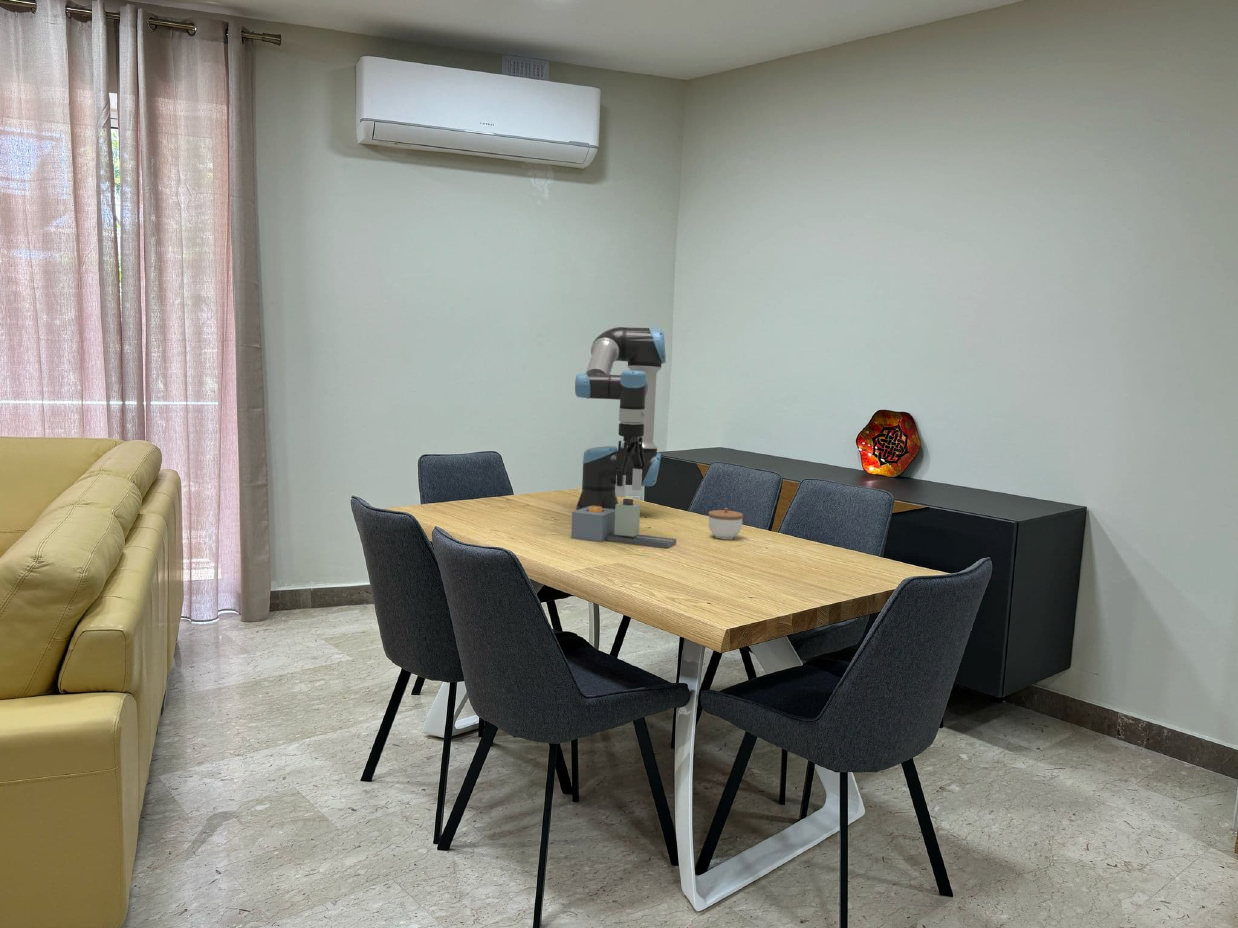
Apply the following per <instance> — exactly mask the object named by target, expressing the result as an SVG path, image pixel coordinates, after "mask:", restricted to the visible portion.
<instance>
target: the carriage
mask: <svg viewBox="0 0 1238 928" xmlns="http://www.w3.org/2000/svg"><path fill="white" fill-rule="evenodd" d="M640 513H641V504H639V503H638V504H637V503H634V499H631V498H623V501H622V502H618V504H616V507H615V530H614V534H616V535H624V536H632V537H633V536H635V535H637V534H640V517H641V514H640Z"/></svg>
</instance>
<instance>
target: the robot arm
mask: <svg viewBox="0 0 1238 928" xmlns="http://www.w3.org/2000/svg"><path fill="white" fill-rule="evenodd" d="M665 343H666V342H665V334H664V332H663V330H662V329H659V328H652V327H624V326H618V327H613V328H609V329H607V330H606V331H604V332H602V333H601V334H599V335H598V336H597V337H596V338H595V339H594V340H593V342H592V344H591V347H590V354H591V356H590V359H589V363H588V365H587V368H586V372H583V373H582V372H581V373H577V374H576V375H575V381H574V393H575V396H576V397H577V398H582V399H586V400H587V399H593V400H594V399H595V400H596V399H598V400H599V399H600V400H615V401H616V400H617V401H618V400H619V409H618V410H619V411H618V412H619V413H618V421H619V424H618V436H620V437H623V439H622V440H618V444H617V445H618V447H617V446H611V445H610V446H597V447H591V448H587V449H585V450H584V452H583V459H582V482H581V486H582V487H581V493H580V496H579V498H578V501H577V504H576V506H575V507H576V510H579V509H582V508H585V507H588V506H601V507H602V508H607V509H615V507H616V504H619V501H618V497H619V498H625V497H626V486H631V490H632V491H639V492H640V491H641V490H642V487H652V486H654V485H656V483H657V479H658V474H659V471H660V463H661V459H662V454H661V452H658V447H657V446H656V445H655V442H654V435H655V433H654V430H655V415H656V412H655V410H656V395H657V394H656V392H657V390H656V389H657V374H658V373H659V371H660V370H661V369H662V364H666V362H667V360H666V344H665ZM615 362H626V363H627V368H628V369H629V370H623V371H621V374H611V372H612V369H613V365H614V363H615ZM641 492H642V491H641ZM576 510H575V511H576Z"/></svg>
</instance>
